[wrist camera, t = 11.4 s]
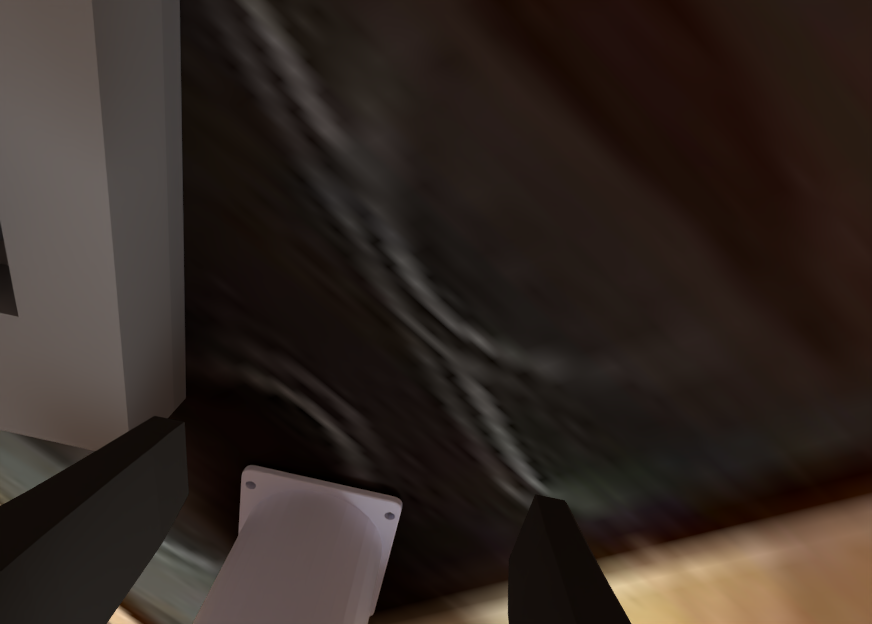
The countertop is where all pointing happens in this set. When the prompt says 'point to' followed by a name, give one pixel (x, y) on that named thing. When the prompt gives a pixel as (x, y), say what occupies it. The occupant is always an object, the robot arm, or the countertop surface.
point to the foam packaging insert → (90, 218)
